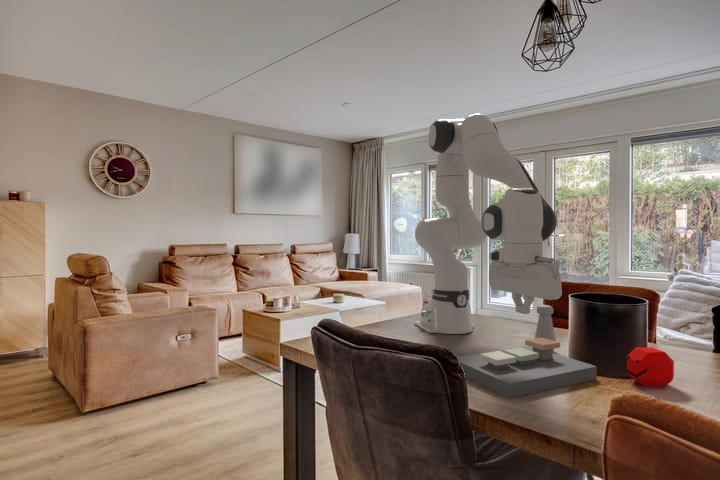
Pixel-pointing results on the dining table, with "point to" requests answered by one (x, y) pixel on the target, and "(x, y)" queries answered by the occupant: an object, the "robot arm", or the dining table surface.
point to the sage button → (522, 355)
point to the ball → (650, 367)
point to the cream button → (498, 359)
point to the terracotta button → (543, 347)
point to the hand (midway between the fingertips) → (522, 312)
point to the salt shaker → (545, 323)
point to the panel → (527, 374)
